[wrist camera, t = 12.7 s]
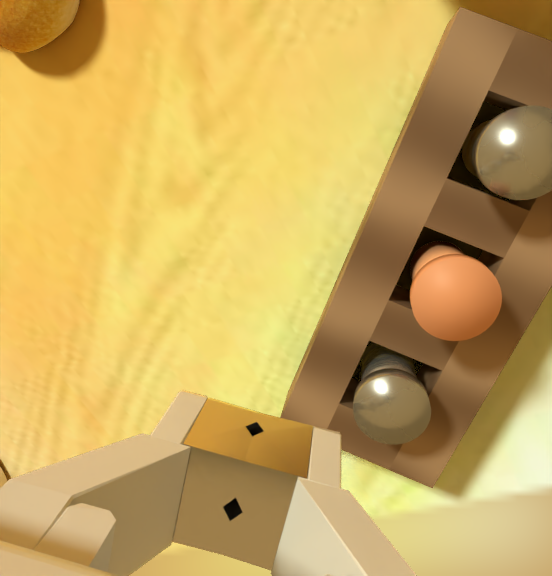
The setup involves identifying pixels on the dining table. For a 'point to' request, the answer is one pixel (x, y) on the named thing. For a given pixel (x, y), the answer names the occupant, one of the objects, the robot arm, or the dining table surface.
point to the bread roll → (34, 22)
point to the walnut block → (447, 220)
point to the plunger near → (513, 153)
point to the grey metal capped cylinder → (390, 397)
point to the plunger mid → (452, 292)
